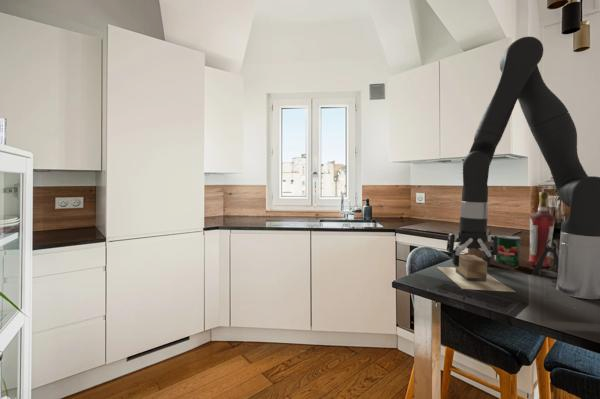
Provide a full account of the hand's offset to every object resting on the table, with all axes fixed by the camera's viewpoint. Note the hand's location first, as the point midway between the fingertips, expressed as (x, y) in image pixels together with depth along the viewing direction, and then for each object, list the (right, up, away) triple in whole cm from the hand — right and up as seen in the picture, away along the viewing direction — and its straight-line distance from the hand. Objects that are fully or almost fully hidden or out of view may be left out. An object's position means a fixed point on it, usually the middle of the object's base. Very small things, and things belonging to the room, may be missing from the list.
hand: (470, 267), depth 96 cm
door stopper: (+31, -5, +8) cm, 32 cm away
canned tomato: (+24, -4, +19) cm, 31 cm away
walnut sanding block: (0, -3, 0) cm, 3 cm away
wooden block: (+11, -4, +15) cm, 19 cm away
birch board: (0, -4, -1) cm, 4 cm away
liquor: (+36, -4, +19) cm, 41 cm away
